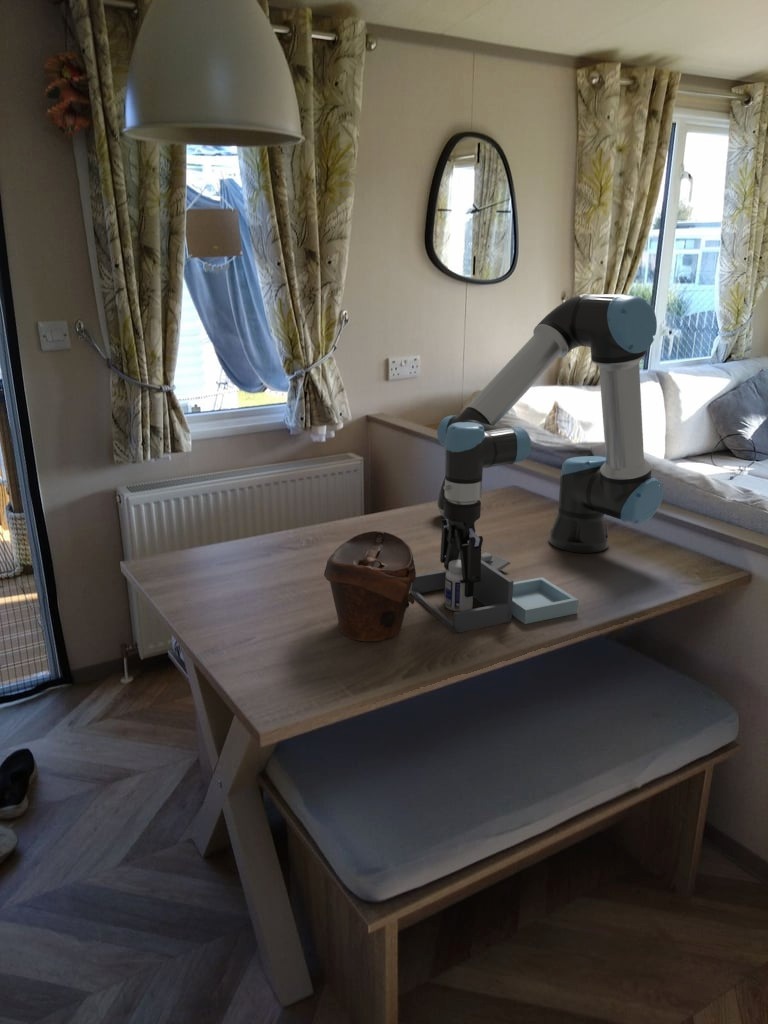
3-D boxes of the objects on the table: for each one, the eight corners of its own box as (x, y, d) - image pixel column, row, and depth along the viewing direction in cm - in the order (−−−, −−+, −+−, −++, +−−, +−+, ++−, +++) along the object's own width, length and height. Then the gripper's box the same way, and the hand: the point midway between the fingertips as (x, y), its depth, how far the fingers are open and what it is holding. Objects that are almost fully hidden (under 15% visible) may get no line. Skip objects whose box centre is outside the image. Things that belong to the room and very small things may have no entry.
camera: (440, 526, 174) (487, 516, 182) (438, 573, 177) (484, 561, 186) (465, 537, 167) (513, 525, 175) (462, 586, 170) (509, 572, 179)
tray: (491, 599, 164) (492, 586, 163) (541, 589, 168) (542, 577, 167) (524, 624, 152) (525, 610, 151) (577, 613, 157) (578, 599, 156)
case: (346, 659, 138) (346, 568, 133) (312, 615, 155) (311, 534, 150) (432, 642, 145) (436, 556, 139) (390, 603, 162) (392, 524, 157)
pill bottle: (475, 603, 161) (477, 560, 158) (466, 614, 156) (468, 570, 153) (450, 599, 163) (451, 556, 160) (440, 609, 159) (442, 565, 155)
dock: (409, 592, 167) (410, 555, 164) (461, 583, 172) (462, 546, 169) (454, 633, 148) (456, 591, 145) (510, 621, 153) (513, 581, 150)
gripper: (425, 489, 159) (423, 589, 166) (469, 514, 143) (464, 624, 150) (456, 485, 162) (453, 584, 169) (502, 510, 146) (496, 618, 153)
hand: (458, 602), depth 160 cm, fingers closed on pill bottle, 6 cm apart
